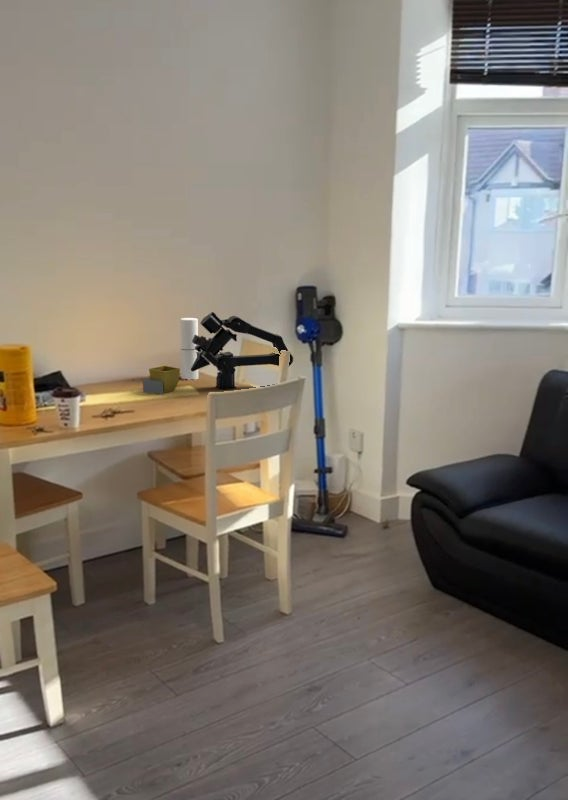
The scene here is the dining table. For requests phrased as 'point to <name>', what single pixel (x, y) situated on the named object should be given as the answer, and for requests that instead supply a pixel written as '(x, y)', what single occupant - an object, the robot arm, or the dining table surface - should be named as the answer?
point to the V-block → (152, 386)
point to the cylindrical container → (188, 347)
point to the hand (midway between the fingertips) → (191, 370)
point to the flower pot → (165, 376)
